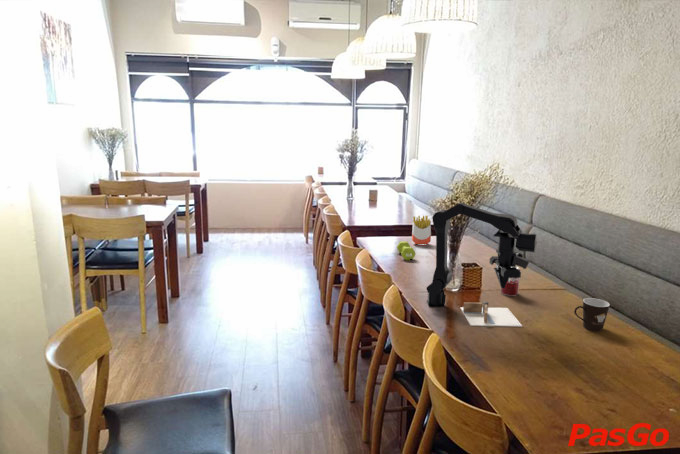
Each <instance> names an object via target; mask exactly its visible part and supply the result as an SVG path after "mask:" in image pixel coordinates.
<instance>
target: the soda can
mask: <svg viewBox="0 0 680 454" xmlns="http://www.w3.org/2000/svg"><path fill="white" fill-rule="evenodd" d="M511 267H512V266H511ZM516 268H517V269H518V270H519V271H520V272H521V269H520V267H519V266H516ZM520 278H521V277H520ZM520 278H509V279H508V281H507V283H506V286H505V288H501V287H500V293H501V294H502V295H504V296H507V297H516V296H517V295H519V289H520Z"/></svg>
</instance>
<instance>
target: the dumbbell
mask: <svg viewBox="0 0 680 454" xmlns="http://www.w3.org/2000/svg"><path fill="white" fill-rule="evenodd" d="M396 250H397V252H398V253H399V254H400V253H401V254H400V255H401V257H402V258H403V260H404V259H405V260H404V261H411V260H410V259H412V260H414V258H415V257H416V252H415V249H414V247H411V245H410V244H409V242H408V241H403V240H402V241H400V242H399V243H398V244H397V245H396Z"/></svg>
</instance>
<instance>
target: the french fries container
mask: <svg viewBox="0 0 680 454" xmlns="http://www.w3.org/2000/svg"><path fill="white" fill-rule="evenodd" d="M412 218H413V219H412V229H411V230H412V231H411V241H412V242H413V243H414V244H415V245H416V244H427V245H428V244H430V243H431V241H432V231H431V229H432V226H431V225H432V224H431V223H432V221H431V219H430V218H428V215H422V217H421V215H418V217H416V216H413V217H412Z"/></svg>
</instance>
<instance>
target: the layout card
mask: <svg viewBox="0 0 680 454" xmlns="http://www.w3.org/2000/svg"><path fill="white" fill-rule="evenodd" d="M459 308H460V310H461V312H462V313H463V315H464V317H465V319H466V320H467V322H468V324H469V326H471V327H511V328H512V327H515V328H516V327H517V328H518V327H520V328H522V327H523V324H521V323H520V321H519V320H518V319H517V318H516V316H515V315H514V314H513V313H512V311H511V310H510V309H509V308H508V307H488V314H487V323H485V322H484V313H483V307H482V312H464V311H463V309H464V306H462V307H459Z"/></svg>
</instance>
